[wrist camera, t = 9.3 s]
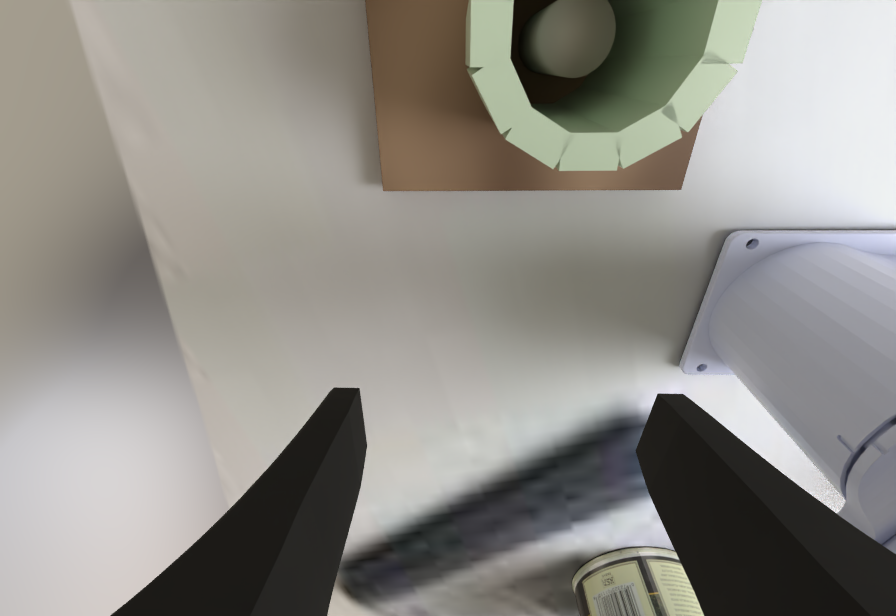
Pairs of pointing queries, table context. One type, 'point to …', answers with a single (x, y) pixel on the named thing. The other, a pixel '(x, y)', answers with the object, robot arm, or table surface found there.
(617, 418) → the table surface
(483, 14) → the green segmented tube
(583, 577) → the coffee can
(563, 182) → the spool holder
